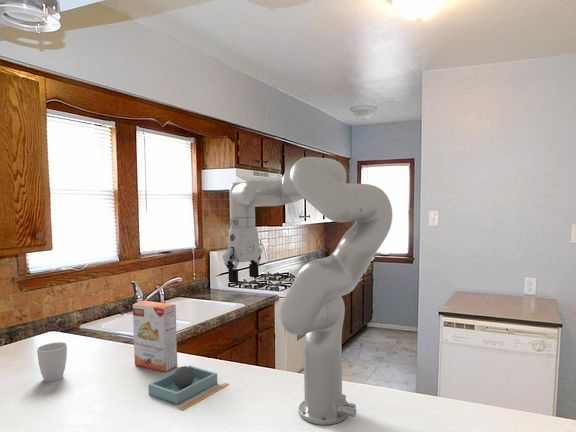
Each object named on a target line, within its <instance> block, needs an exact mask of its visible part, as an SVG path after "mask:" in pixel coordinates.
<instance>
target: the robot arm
mask: <svg viewBox="0 0 576 432" xmlns="http://www.w3.org/2000/svg"><path fill="white" fill-rule="evenodd" d="M346 180H347V171H346V169H345V167H344V166H343V164H342V163H340V162H339V161H338V160H336V159H334V158H328V157H326V158H325V157H315V156H306V157H301V158H299V160H297V161H296V162H295V163H294V164H293V165H292V167H291V168H289V169H287V170H286V171H285V172H284V173H283V175H282V179H280V180H264V179H263V180H262V179H261V180H257V179H256V180H255V179H254V180H253V179H252V180H245V181H241V182H232V183H231V184H230V185H229V188H228V189H229V190H228V191H229V217H230V218H229V224H230V226H229V231H228V241H227V243H228V244H227V251H226V252H225V253H224V254H223V255H222V259H223V262H224V265H225V266H226V269H227V270H228V272H227V273H228V282H229V283H233V284H237V283H239V269H237V267H238V265H240V263H247V262H249V264H248V268H249V270H248V271H249V277H250V278H255V279H257V278H259V265H260V263H261V262H260V260H261V259H262V253H263V249H262V248H261V247H260V239H259V233H258V228H257V226H256V207H278V206H284V205H288V204H293V203H297V202H298V201H300V200H304V199H305V201H307V203H309V204H310V205H311V206H312V207H314V208H315V209H316V211H318V212H319V213H320V214H321V215H322V216H324V217H325V218H327V219H328V220H330V221H332V222H334V223H335V222H336V223H349V222H354V223H353V225H352V226H351V227H350V228H349V229H348V230H347V231H346V232H345V233H344V234H343V235H342V237H341V238H340V240H339V242H338V243H337V246H336V247H335V249H334V251H332V253H331V254H330V255H329V256H327V257H321V258H316V259H312V260H310V261H308V262H306V263H305V264H304V265H303V266H302V267H301V268H300V269H299V271H298V273H297V275H296V276H295V278H294V280H293V281H292V283H291V285H290V288H289V289H288V291H287V293H286V295H285V297H284V299H283V301H282V304H281V306H280V312H279V313H280V314H279V316H280V322H281V324H282V326H283V328H284V330H285V331H286V332H287V333H290V334H291V335H295V336H302V335H304V340H303V372H304V373H303V379H304V380H303V381H304V382H303V383H304V386H303V388H304V390H303V391H304V400H303V401H302V402H300V404H299V406H298V414H299V416H300V417H301V418H302V419H303V420H304V421H306V422H308V423H311V424H314V425H315V424H316V425H322V426H327V425H334V424H338V423H340V422H343V421H344V420H346V419H347V417H348V416H349V417H352V418H355V417H356V416H357V409H356V407H357V404H355V403H352V402H351V403H350V402H348V401H347V395H346V394H343V369H342V367H343V366H342V360H343V359H342V357H343V356H342V352H343V351H342V339H343V338H342V337H343V336H342V335H343V325H344V321H345V313H346V308H345V307H346V306H345V302H344V299H343V296H346V295H348V294H350V293H351V292H352V291H354V289H355V288H356V286H357V285H358V283H359V282H360V280H361V279H362V278H363V276H364V274H365V272H366V271H367V269H368V267H369V265H370V264H371V262H372V260H373V258H374V257H375V256H376V253H377V252H378V251H379V249H380V248H381V246H382V244H383V243H384V241H385V240H386V238H387V237H388V234H389V232H390V230H391V228H392V227H391V226H392V222H393V207H392V203H391V201H390V198H389V196H388V194H386V193H385V191H384V190H382V189H381V188H380V187H378V186H376V185H374V184H368V183H346Z"/></svg>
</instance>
